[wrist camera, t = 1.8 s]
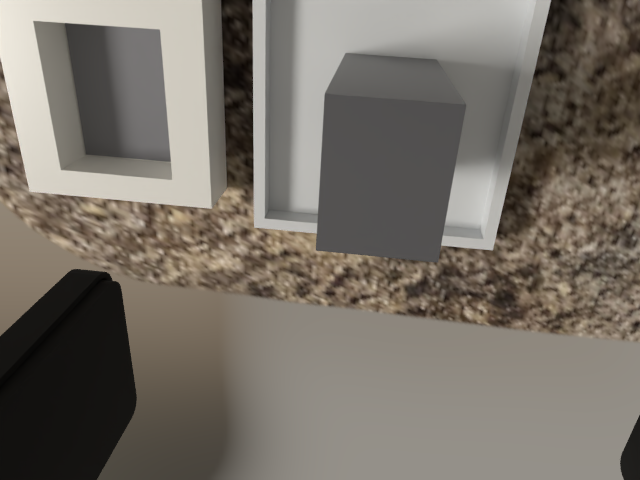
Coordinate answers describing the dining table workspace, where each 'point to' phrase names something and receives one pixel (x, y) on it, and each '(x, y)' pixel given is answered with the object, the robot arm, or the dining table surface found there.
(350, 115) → the plug
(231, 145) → the dining table surface
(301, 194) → the tray
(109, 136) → the power strip
